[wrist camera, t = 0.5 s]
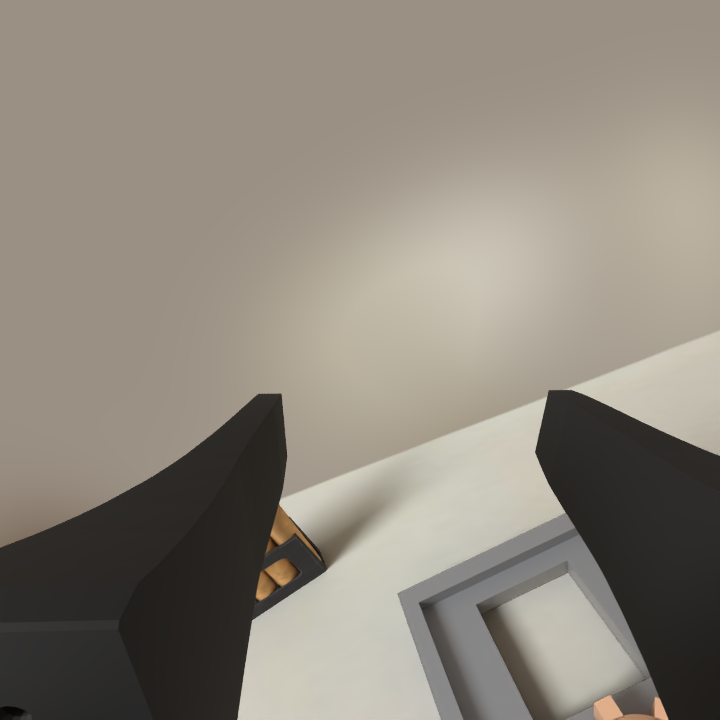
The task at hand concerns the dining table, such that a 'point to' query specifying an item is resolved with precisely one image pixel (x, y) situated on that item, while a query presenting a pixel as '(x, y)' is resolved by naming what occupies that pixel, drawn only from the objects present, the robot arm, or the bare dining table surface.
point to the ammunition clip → (286, 563)
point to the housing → (473, 640)
